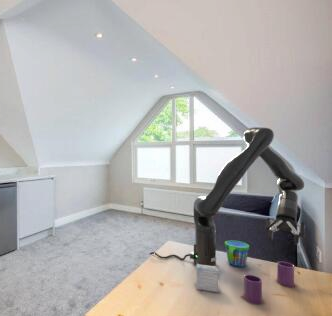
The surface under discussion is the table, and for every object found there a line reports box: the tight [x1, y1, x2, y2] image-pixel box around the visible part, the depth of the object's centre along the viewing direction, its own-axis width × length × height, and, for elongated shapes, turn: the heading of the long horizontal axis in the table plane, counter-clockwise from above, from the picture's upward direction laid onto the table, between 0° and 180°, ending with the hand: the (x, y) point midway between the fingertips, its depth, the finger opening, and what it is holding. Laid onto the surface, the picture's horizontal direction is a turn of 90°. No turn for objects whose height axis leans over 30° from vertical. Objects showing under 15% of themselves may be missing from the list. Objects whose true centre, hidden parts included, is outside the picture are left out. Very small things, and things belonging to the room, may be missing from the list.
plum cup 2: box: [276, 261, 295, 288], centre depth 103 cm, size 6×6×8 cm
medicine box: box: [195, 264, 219, 293], centre depth 100 cm, size 8×4×9 cm, turn 71°
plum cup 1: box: [243, 274, 263, 305], centre depth 92 cm, size 6×6×8 cm
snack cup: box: [224, 239, 250, 268], centre depth 122 cm, size 16×10×10 cm
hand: (282, 241), depth 108 cm, fingers open, 8 cm apart
